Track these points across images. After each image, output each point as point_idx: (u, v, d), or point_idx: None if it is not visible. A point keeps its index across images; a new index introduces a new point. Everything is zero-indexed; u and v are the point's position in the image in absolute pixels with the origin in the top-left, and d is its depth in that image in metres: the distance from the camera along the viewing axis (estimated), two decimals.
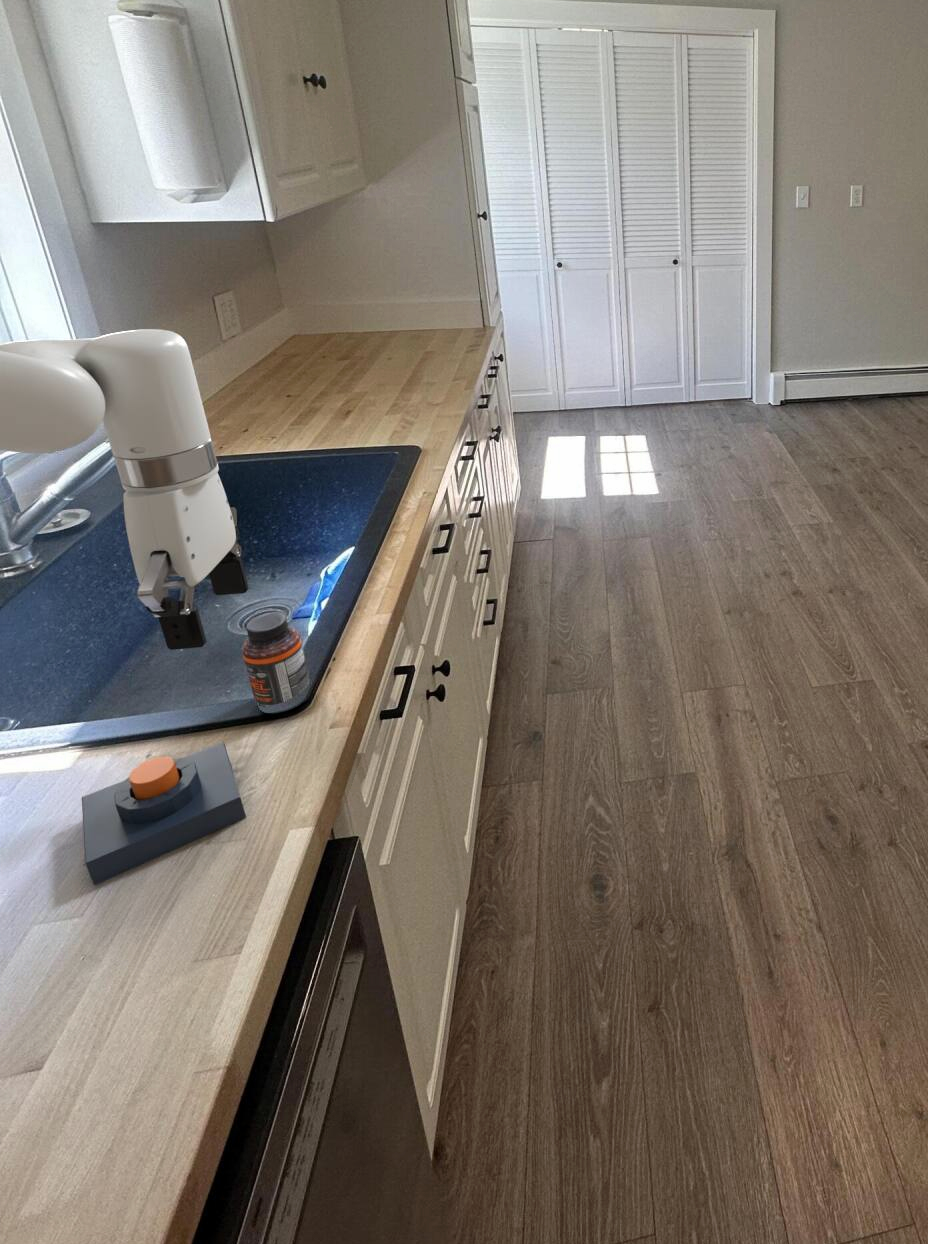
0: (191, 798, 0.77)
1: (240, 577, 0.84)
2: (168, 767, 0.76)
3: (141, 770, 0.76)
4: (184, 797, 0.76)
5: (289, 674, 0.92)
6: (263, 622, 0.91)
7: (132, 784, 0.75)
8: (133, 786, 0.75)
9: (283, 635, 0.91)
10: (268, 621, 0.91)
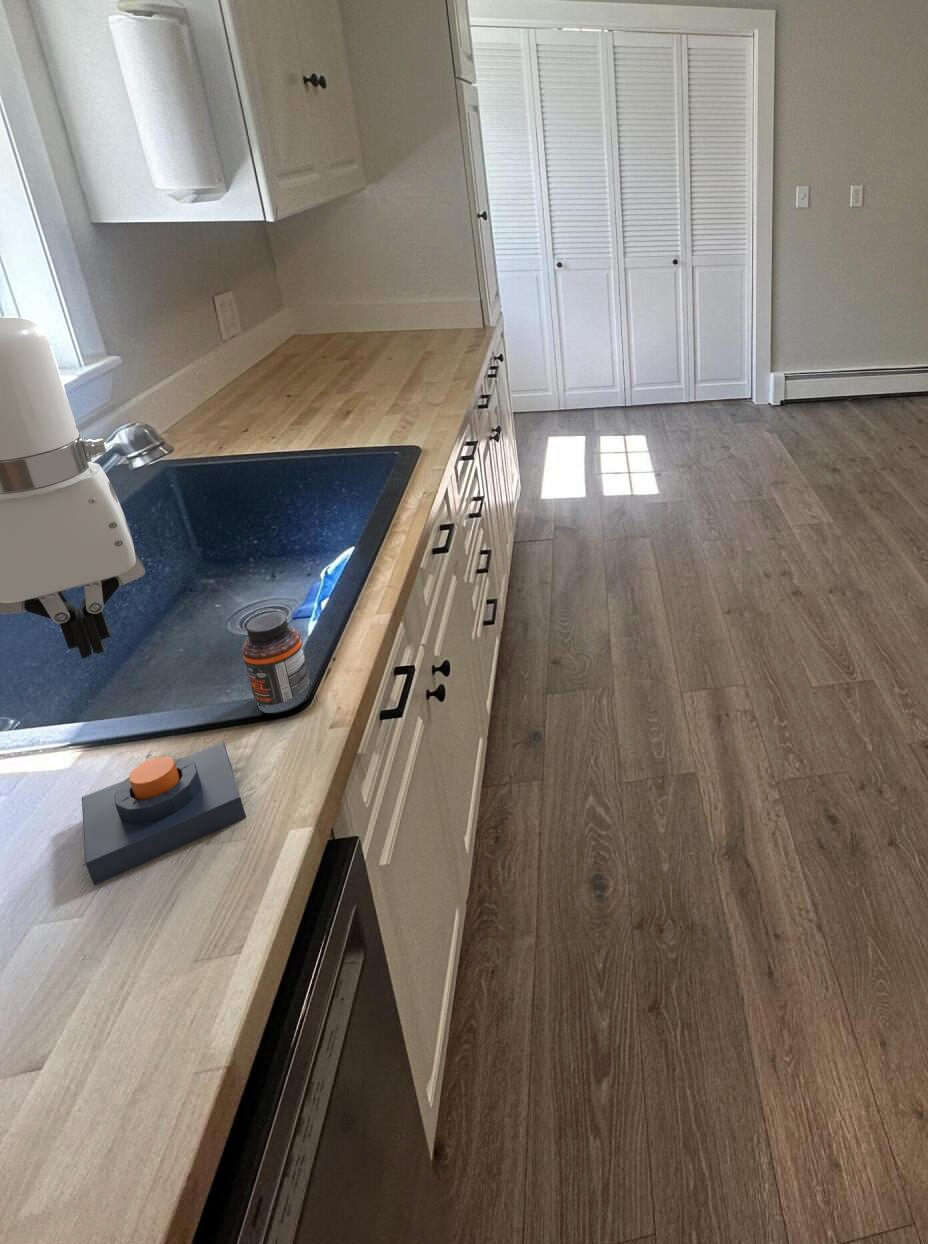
0: (191, 798, 0.77)
1: (88, 636, 0.71)
2: (168, 767, 0.76)
3: (141, 770, 0.76)
4: (184, 797, 0.76)
5: (289, 674, 0.92)
6: (263, 622, 0.91)
7: (132, 784, 0.75)
8: (133, 786, 0.75)
9: (283, 635, 0.91)
10: (268, 621, 0.91)
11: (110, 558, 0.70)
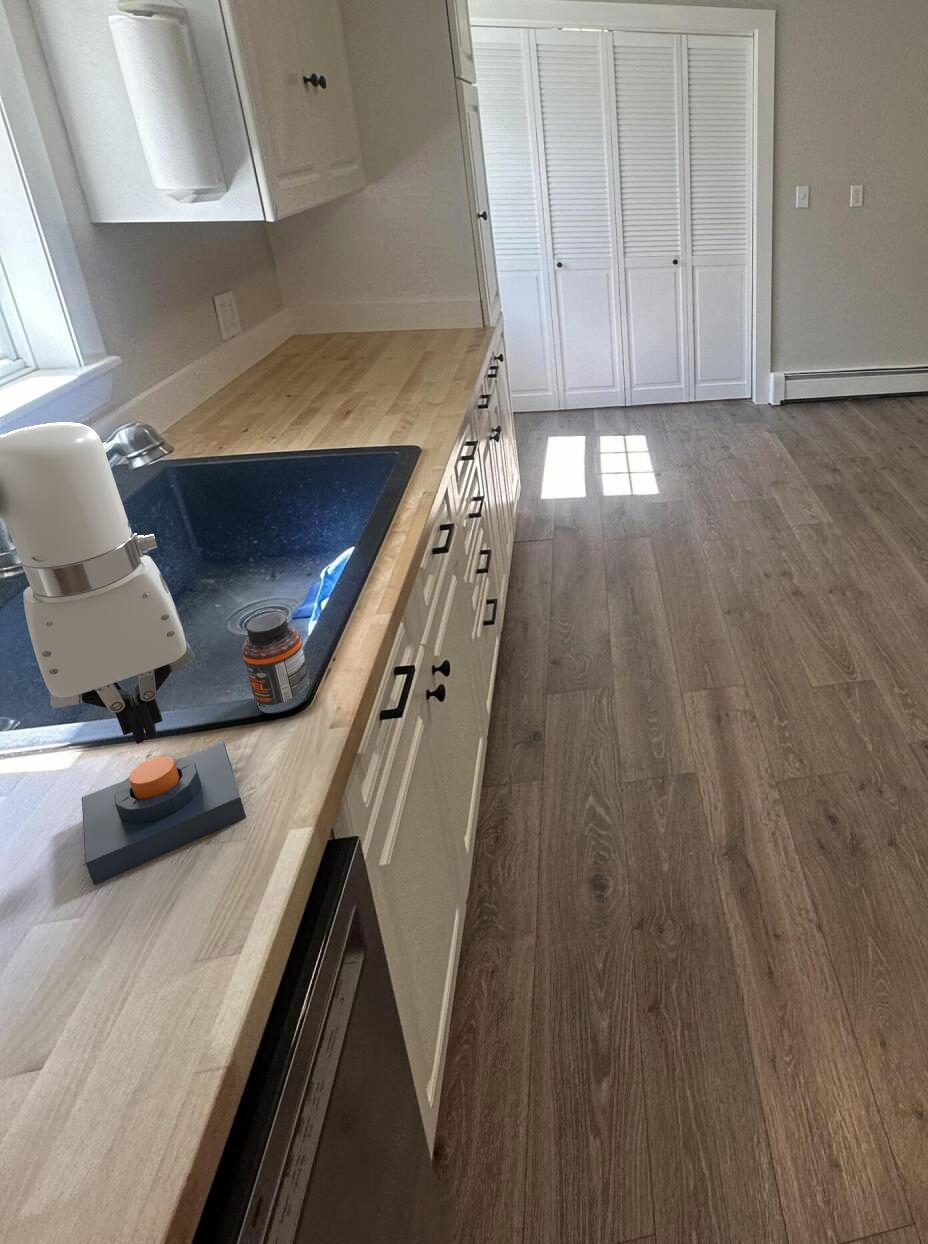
0: (191, 798, 0.77)
1: (142, 723, 0.73)
2: (168, 767, 0.76)
3: (141, 770, 0.76)
4: (184, 797, 0.76)
5: (289, 674, 0.92)
6: (263, 622, 0.91)
7: (132, 784, 0.75)
8: (133, 786, 0.75)
9: (283, 635, 0.91)
10: (268, 621, 0.91)
11: (162, 648, 0.72)
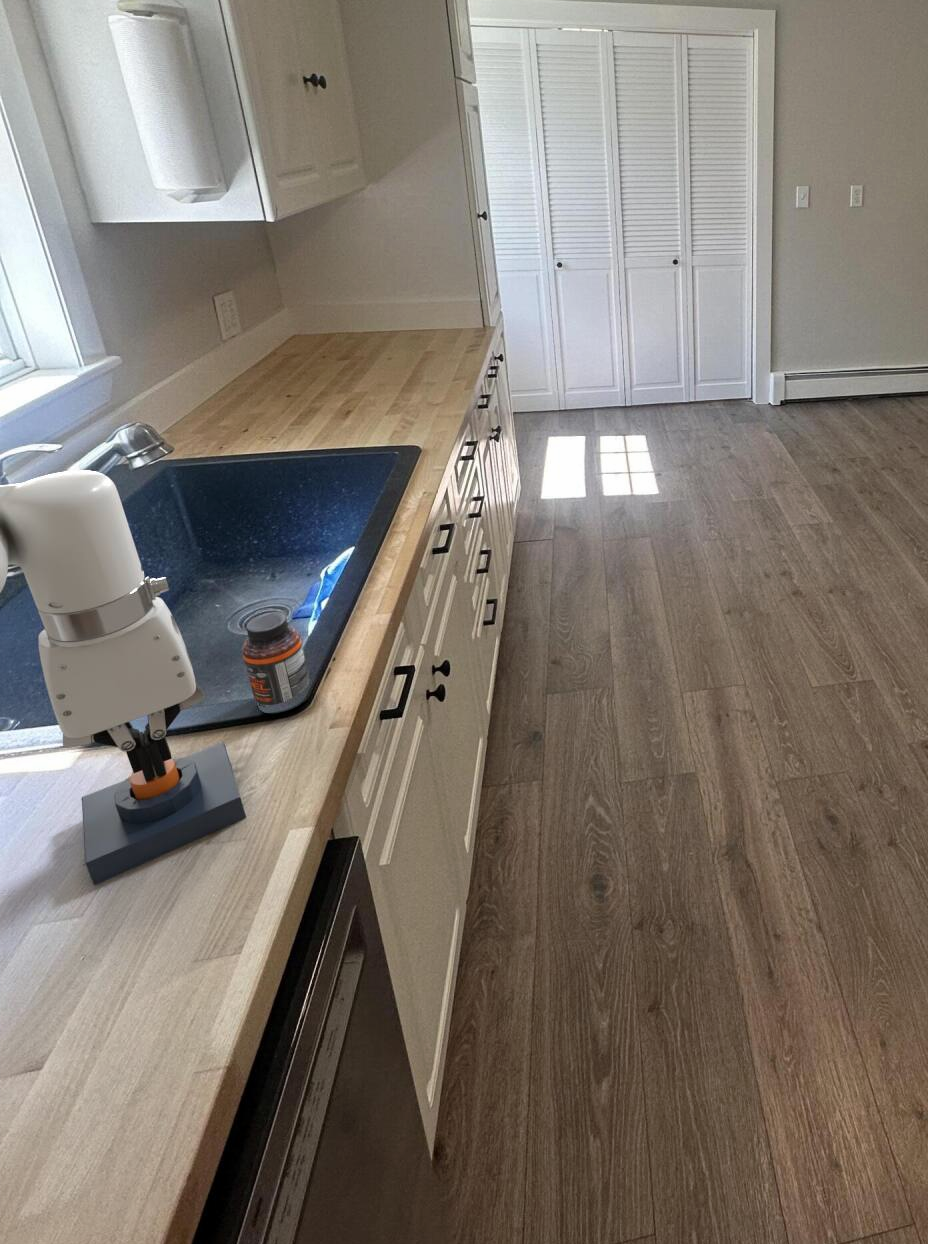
0: (191, 798, 0.77)
1: (152, 761, 0.75)
2: (169, 768, 0.77)
3: (141, 772, 0.76)
4: (184, 797, 0.76)
5: (289, 674, 0.92)
6: (263, 622, 0.91)
7: (132, 785, 0.75)
8: (133, 787, 0.75)
9: (283, 635, 0.91)
10: (268, 621, 0.91)
11: (173, 688, 0.73)
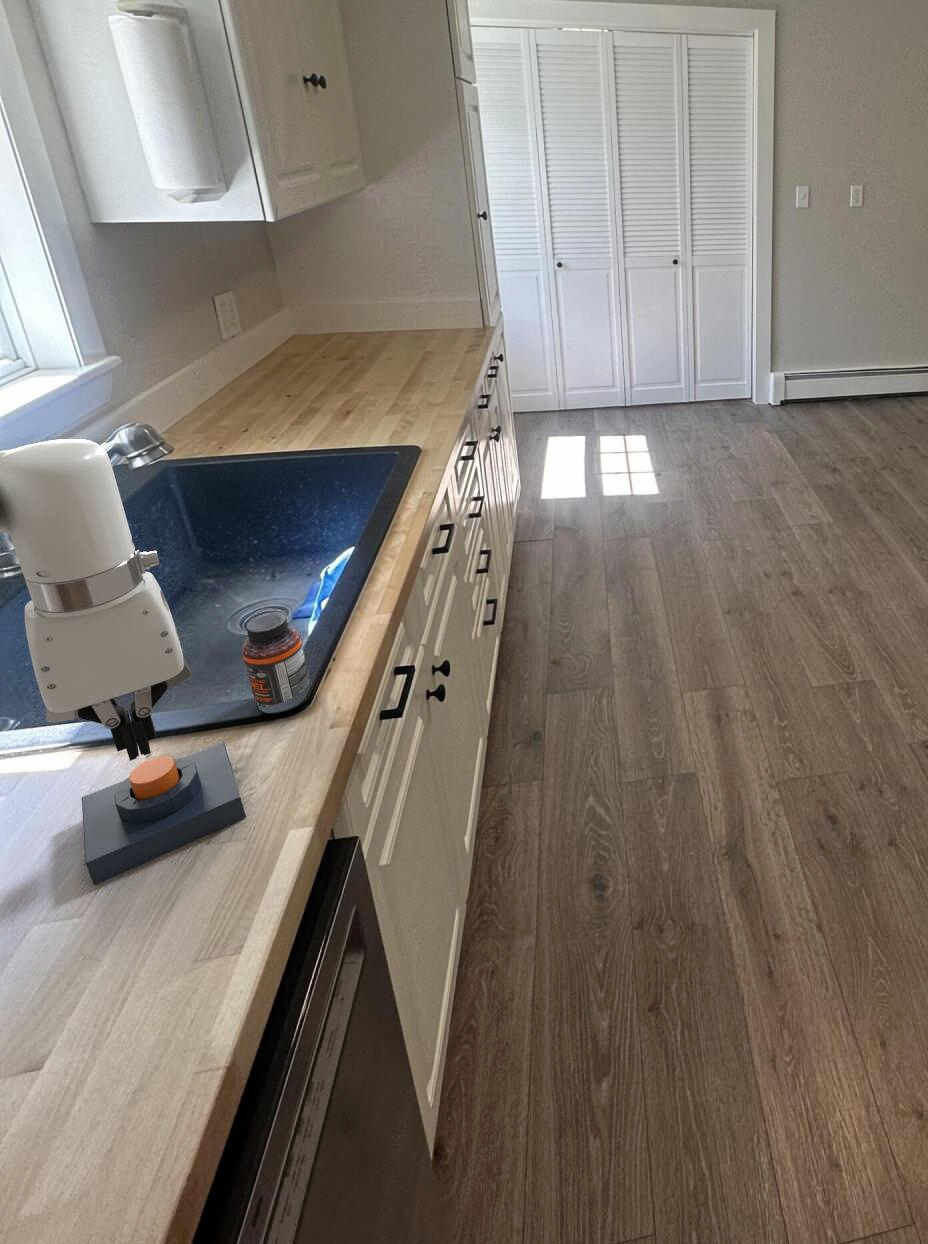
0: (191, 798, 0.77)
1: (136, 739, 0.73)
2: (168, 767, 0.76)
3: (141, 770, 0.76)
4: (184, 797, 0.76)
5: (289, 674, 0.92)
6: (263, 622, 0.91)
7: (132, 784, 0.75)
8: (133, 786, 0.75)
9: (283, 635, 0.91)
10: (268, 621, 0.91)
11: (160, 665, 0.72)
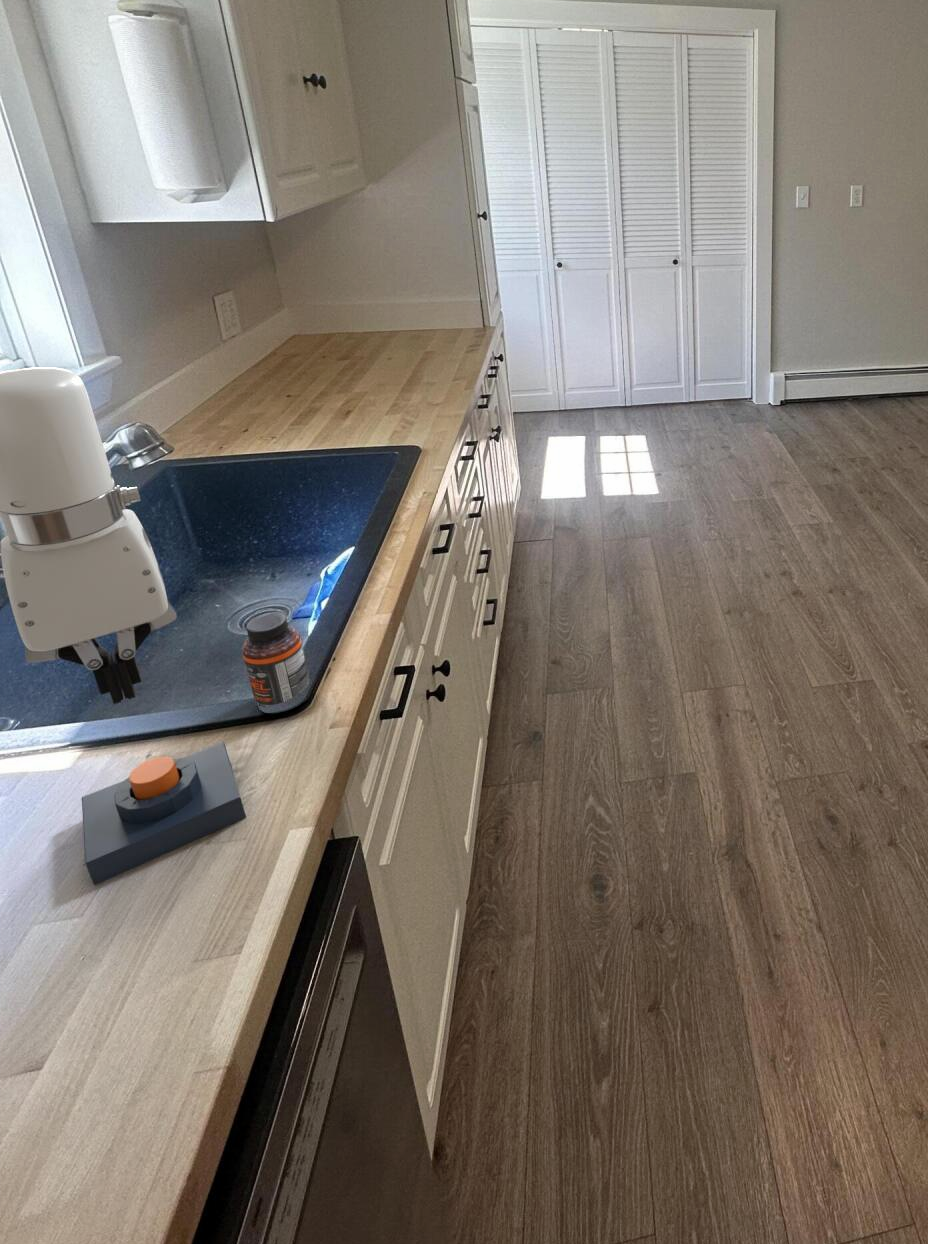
0: (191, 798, 0.77)
1: (120, 682, 0.71)
2: (168, 767, 0.76)
3: (141, 770, 0.76)
4: (184, 797, 0.76)
5: (289, 674, 0.92)
6: (263, 622, 0.91)
7: (132, 784, 0.75)
8: (133, 786, 0.75)
9: (283, 635, 0.91)
10: (268, 621, 0.91)
11: (143, 605, 0.70)
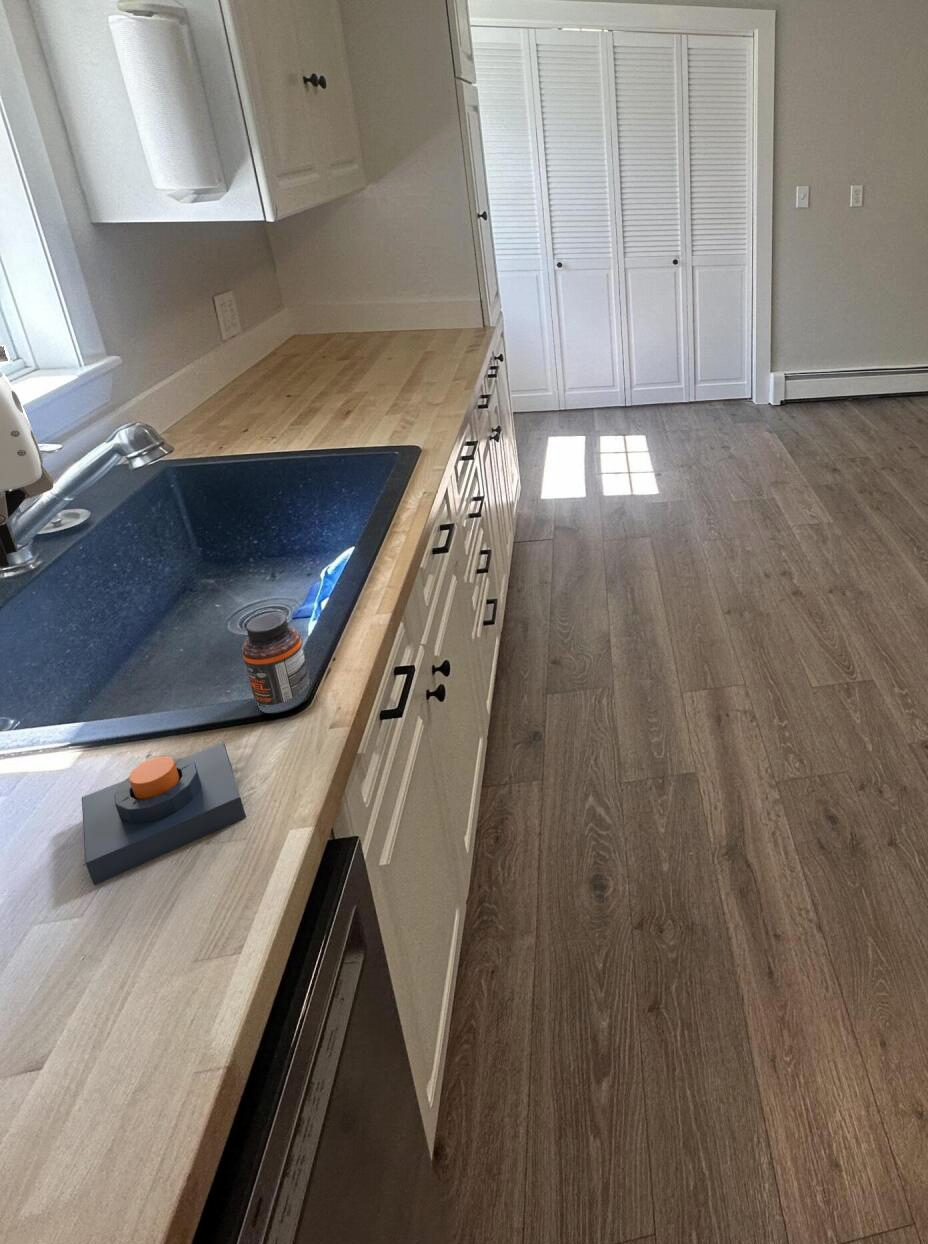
0: (191, 798, 0.77)
1: None
2: (168, 767, 0.76)
3: (141, 770, 0.76)
4: (184, 797, 0.76)
5: (289, 674, 0.92)
6: (263, 622, 0.91)
7: (132, 784, 0.75)
8: (133, 786, 0.75)
9: (283, 635, 0.91)
10: (268, 621, 0.91)
11: (13, 468, 0.69)
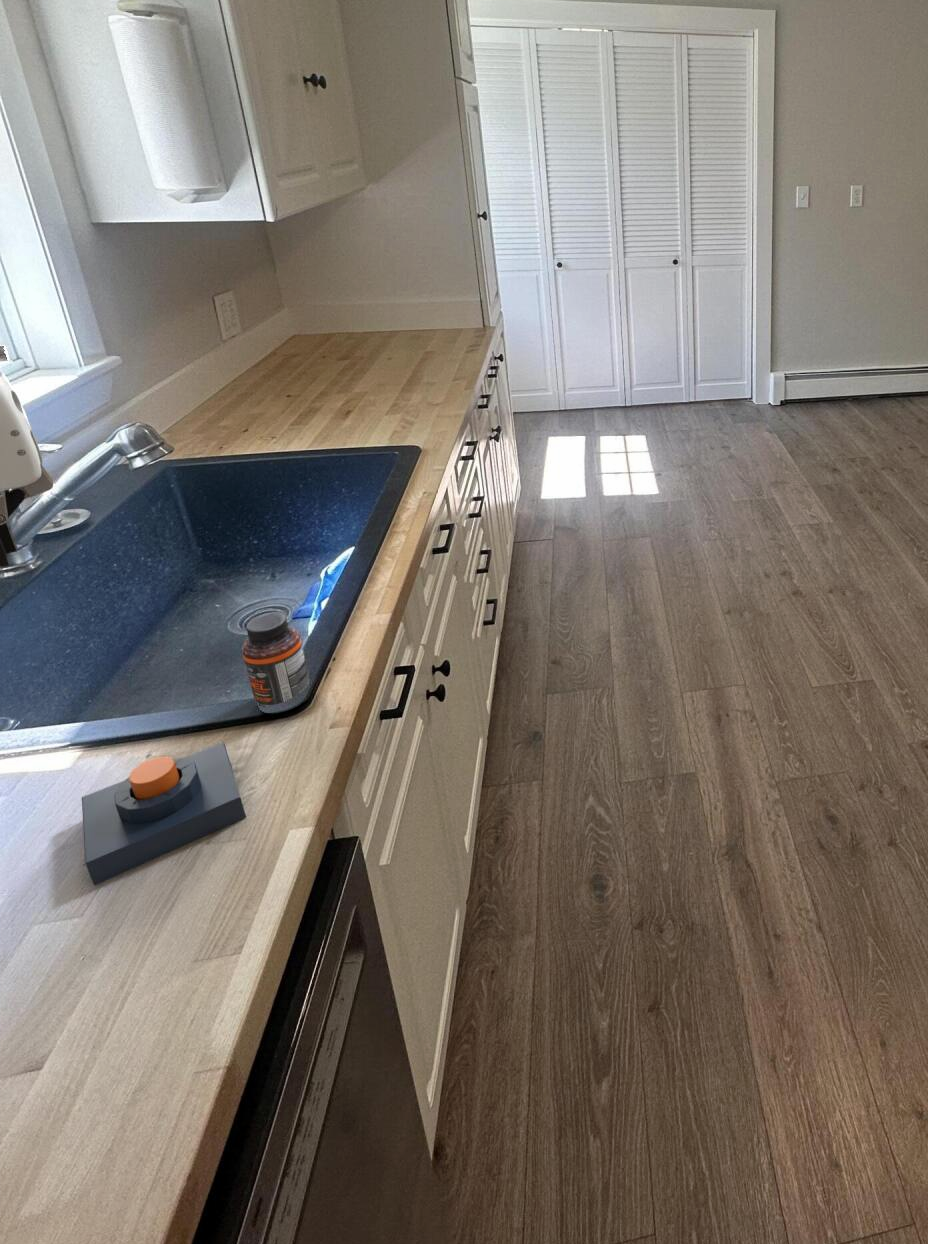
0: (191, 798, 0.77)
1: None
2: (168, 767, 0.76)
3: (141, 770, 0.76)
4: (184, 797, 0.76)
5: (289, 674, 0.92)
6: (263, 622, 0.91)
7: (132, 784, 0.75)
8: (133, 786, 0.75)
9: (283, 635, 0.91)
10: (268, 621, 0.91)
11: (13, 467, 0.69)
